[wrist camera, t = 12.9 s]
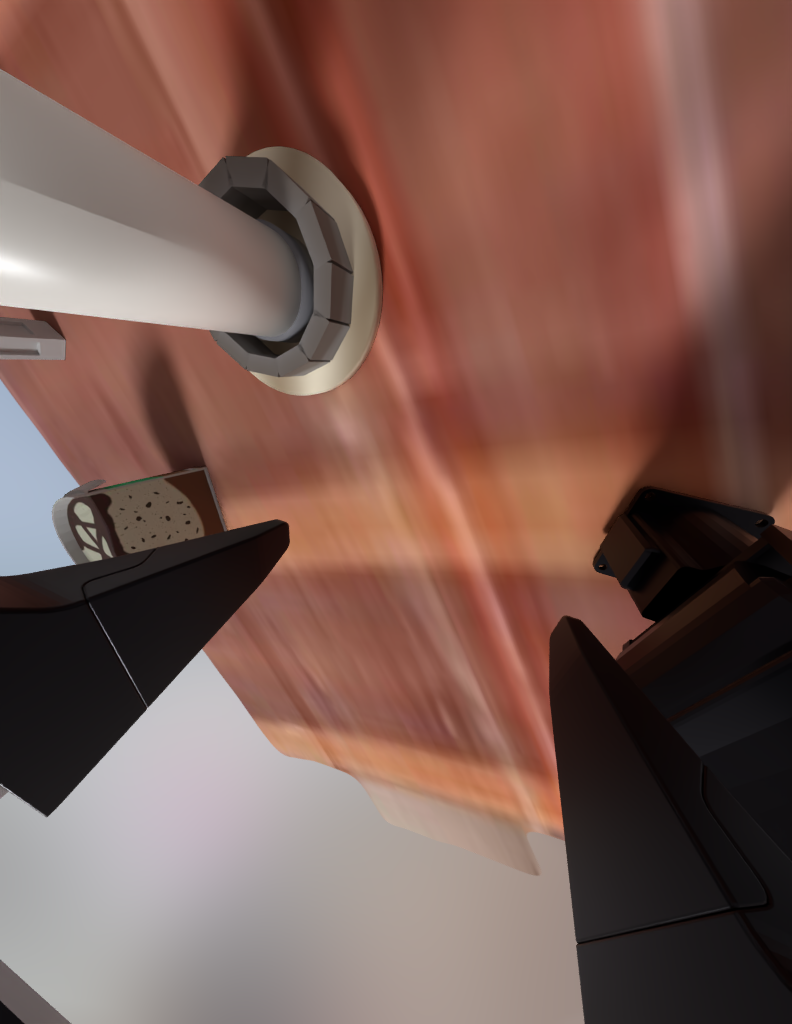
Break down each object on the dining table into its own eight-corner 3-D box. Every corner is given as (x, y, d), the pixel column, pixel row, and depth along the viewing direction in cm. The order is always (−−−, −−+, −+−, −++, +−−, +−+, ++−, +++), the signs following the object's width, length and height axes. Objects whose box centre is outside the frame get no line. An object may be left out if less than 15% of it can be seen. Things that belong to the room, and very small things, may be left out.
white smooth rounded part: (325, 238, 16) (-198, -136, 4) (323, 349, 18) (6, 322, 7) (244, 230, 17) (-358, -85, 5) (253, 336, 20) (-127, 292, 8)
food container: (156, 447, 29) (16, 480, 21) (201, 451, 28) (69, 490, 19) (195, 547, 35) (98, 605, 27) (235, 556, 33) (144, 621, 25)
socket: (396, 164, 14) (367, 109, 11) (371, 409, 20) (347, 417, 17) (206, 157, 17) (138, 110, 14) (233, 378, 23) (191, 380, 20)
